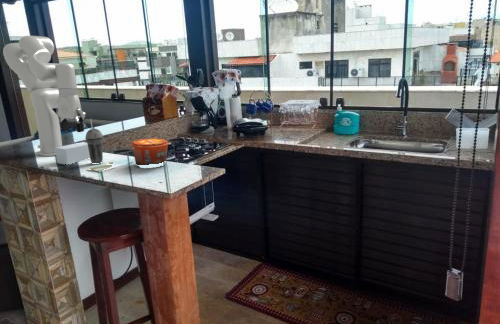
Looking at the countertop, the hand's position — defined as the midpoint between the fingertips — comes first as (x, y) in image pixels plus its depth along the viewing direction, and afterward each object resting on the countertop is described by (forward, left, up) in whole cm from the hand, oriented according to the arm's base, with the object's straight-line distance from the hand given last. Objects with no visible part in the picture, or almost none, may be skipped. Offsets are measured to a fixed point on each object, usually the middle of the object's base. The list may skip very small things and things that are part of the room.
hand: (73, 131), depth 164 cm
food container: (+35, +10, -14) cm, 39 cm away
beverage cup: (+12, +1, -14) cm, 18 cm away
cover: (-1, 0, -14) cm, 14 cm away
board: (+21, 0, -14) cm, 25 cm away
